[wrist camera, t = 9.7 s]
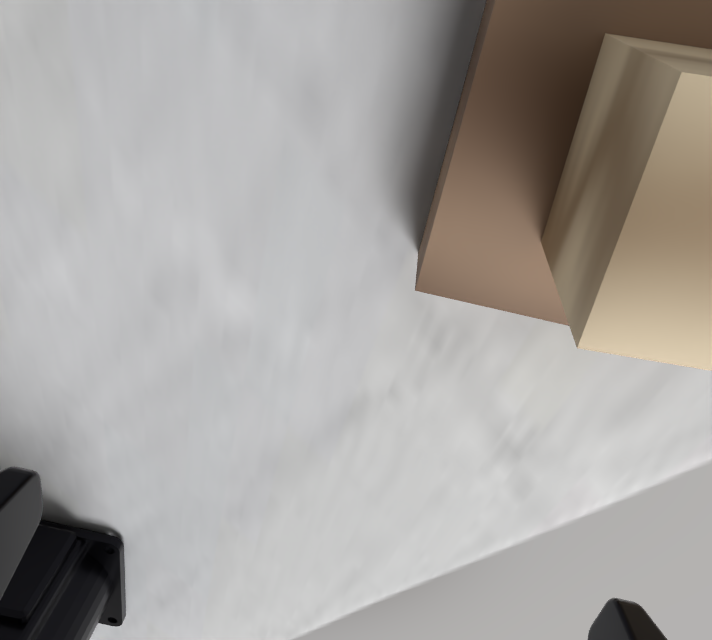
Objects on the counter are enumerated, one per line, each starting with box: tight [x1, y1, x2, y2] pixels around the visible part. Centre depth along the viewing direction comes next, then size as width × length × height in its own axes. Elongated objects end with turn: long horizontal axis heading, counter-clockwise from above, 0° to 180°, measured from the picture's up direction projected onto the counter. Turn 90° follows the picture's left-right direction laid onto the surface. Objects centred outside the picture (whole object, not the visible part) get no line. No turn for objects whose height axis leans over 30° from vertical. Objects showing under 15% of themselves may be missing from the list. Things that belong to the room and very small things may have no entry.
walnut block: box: [415, 0, 712, 326], centre depth 16 cm, size 10×10×3 cm
